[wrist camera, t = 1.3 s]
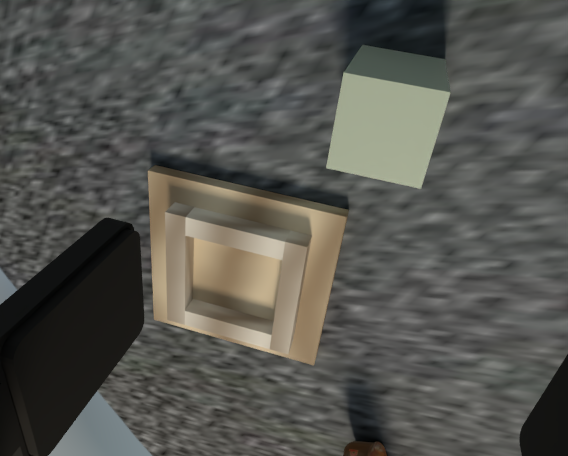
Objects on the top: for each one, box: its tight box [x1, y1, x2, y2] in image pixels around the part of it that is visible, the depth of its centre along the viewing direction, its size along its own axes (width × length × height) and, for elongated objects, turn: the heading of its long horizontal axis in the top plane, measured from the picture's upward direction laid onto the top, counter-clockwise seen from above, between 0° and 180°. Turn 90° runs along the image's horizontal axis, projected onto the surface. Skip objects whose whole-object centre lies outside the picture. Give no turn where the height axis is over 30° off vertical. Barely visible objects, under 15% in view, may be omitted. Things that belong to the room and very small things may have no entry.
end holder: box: [148, 165, 349, 365], centre depth 35 cm, size 14×14×2 cm
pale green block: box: [326, 45, 451, 189], centre depth 24 cm, size 4×4×7 cm
